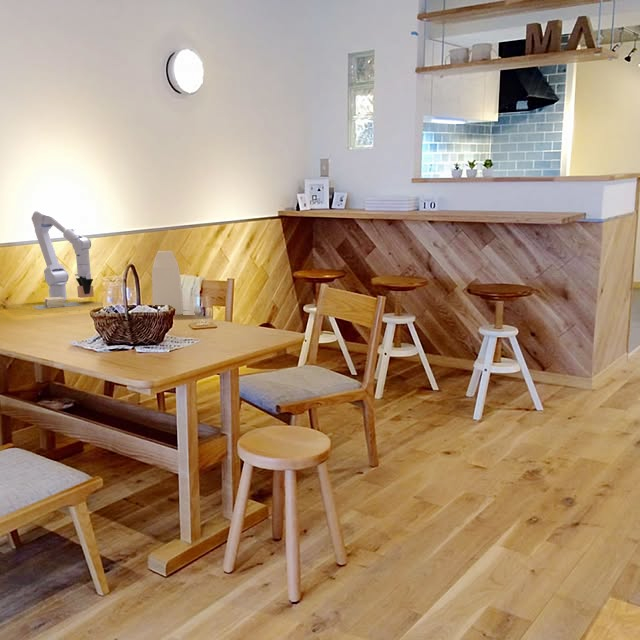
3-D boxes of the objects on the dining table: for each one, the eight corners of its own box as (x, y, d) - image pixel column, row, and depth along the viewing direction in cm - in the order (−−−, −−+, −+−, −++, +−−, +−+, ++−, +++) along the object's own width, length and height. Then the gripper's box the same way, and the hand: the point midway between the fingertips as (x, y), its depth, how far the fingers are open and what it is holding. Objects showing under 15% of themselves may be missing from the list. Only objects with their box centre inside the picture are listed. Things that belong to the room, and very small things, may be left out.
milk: (152, 315, 303) (148, 252, 299) (155, 311, 314) (151, 250, 310) (182, 314, 304) (178, 251, 300) (183, 310, 316) (180, 249, 311)
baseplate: (32, 309, 330) (31, 306, 330) (75, 305, 340) (74, 302, 340) (38, 312, 319) (37, 309, 319) (82, 308, 329) (82, 305, 329)
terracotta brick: (78, 296, 340) (77, 286, 339) (91, 295, 343) (90, 285, 342) (80, 297, 336) (79, 287, 335) (93, 296, 339) (93, 285, 338)
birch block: (45, 305, 330) (44, 298, 329) (61, 304, 333) (60, 296, 333) (48, 307, 324) (47, 299, 323) (64, 306, 328) (64, 298, 327)
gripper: (70, 263, 341) (72, 292, 343) (78, 265, 329) (81, 295, 331) (85, 262, 345) (87, 291, 347) (94, 264, 333) (96, 294, 335)
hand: (85, 293), depth 339 cm, fingers closed on terracotta brick, 4 cm apart
